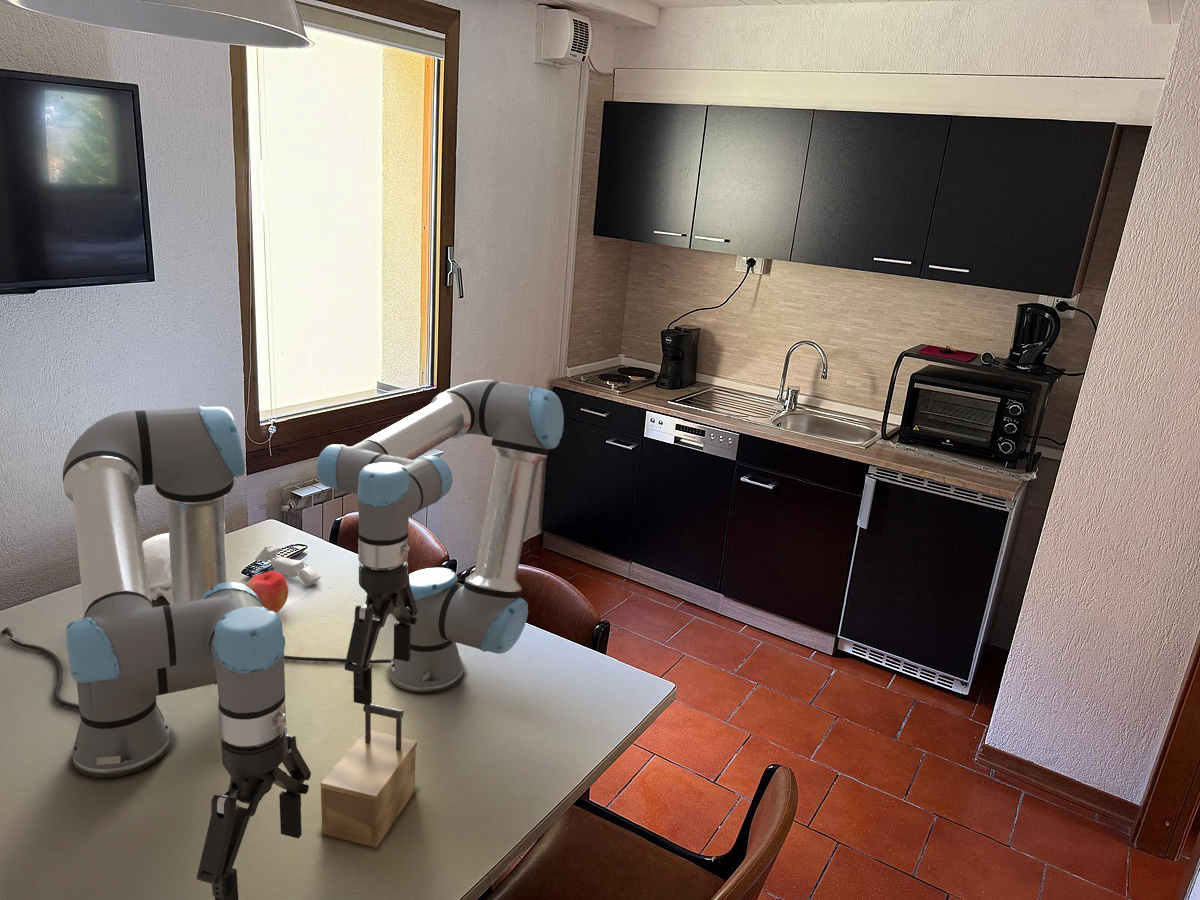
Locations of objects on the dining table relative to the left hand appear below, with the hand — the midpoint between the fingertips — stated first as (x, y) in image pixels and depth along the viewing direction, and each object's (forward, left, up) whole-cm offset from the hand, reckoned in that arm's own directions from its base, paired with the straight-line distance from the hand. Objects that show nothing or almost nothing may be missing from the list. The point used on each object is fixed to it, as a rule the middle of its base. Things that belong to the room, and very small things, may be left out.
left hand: (261, 871), depth 111 cm
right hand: (0, +34, +8) cm, 35 cm away
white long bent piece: (-61, +100, -14) cm, 118 cm away
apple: (-53, +80, -14) cm, 98 cm away
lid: (0, +30, -5) cm, 30 cm away
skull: (-77, +80, -14) cm, 112 cm away
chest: (0, +29, -14) cm, 32 cm away
